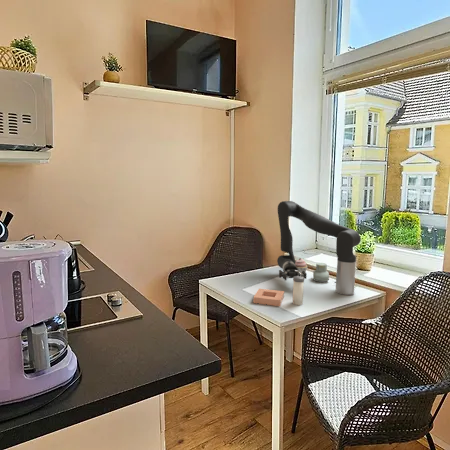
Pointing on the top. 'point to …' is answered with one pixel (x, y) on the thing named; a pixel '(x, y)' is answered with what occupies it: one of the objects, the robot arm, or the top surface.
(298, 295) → the canister
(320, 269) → the air freshener
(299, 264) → the cupcake
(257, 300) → the socket block
